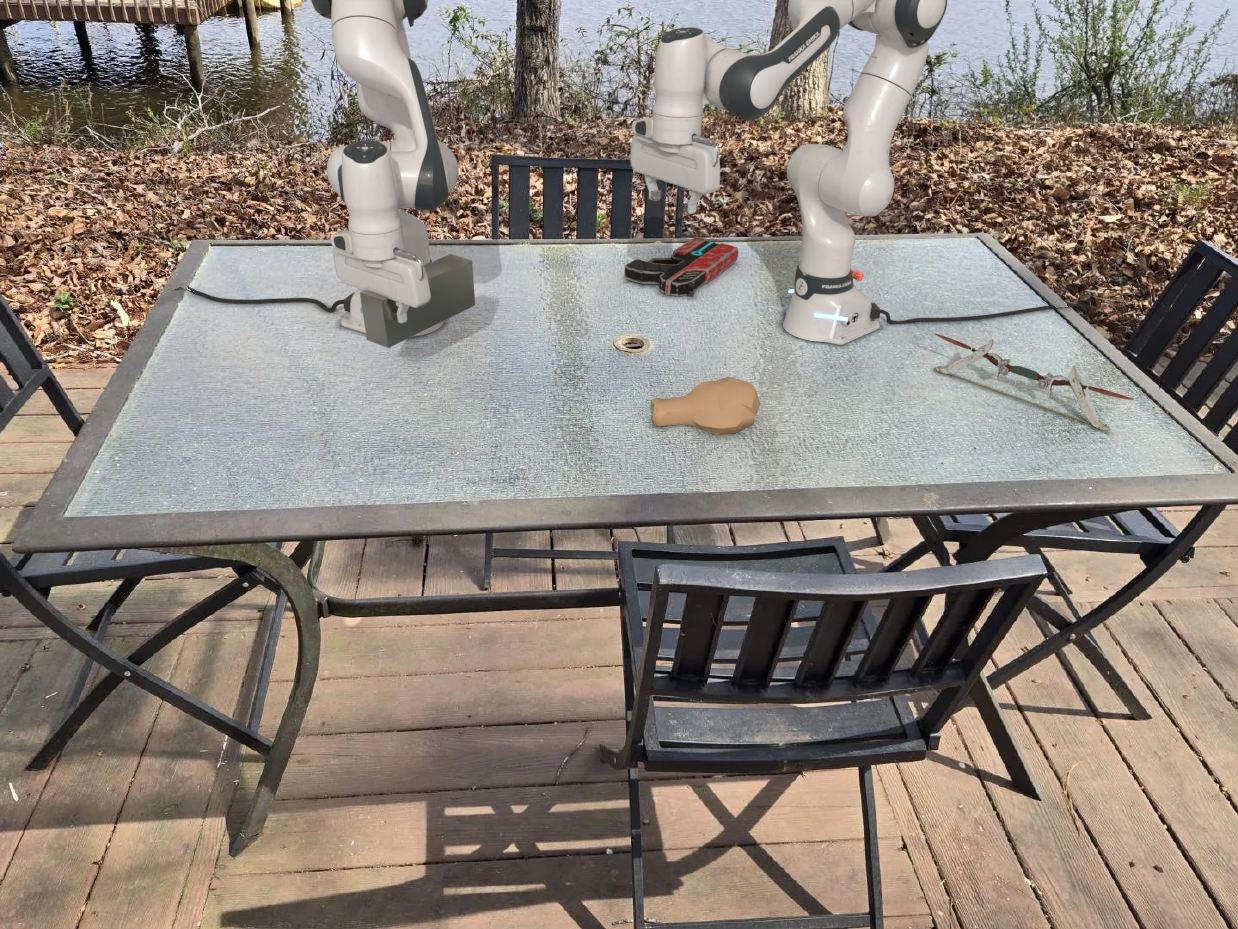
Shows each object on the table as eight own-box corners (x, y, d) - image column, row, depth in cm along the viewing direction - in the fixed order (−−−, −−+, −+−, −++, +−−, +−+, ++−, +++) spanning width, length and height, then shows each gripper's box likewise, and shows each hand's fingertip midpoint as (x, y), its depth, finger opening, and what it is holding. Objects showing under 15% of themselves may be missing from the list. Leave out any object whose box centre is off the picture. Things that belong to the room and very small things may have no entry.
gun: (618, 266, 215) (688, 285, 207) (677, 229, 237) (743, 245, 229) (618, 283, 218) (687, 302, 210) (676, 245, 240) (741, 261, 232)
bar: (388, 348, 158) (381, 299, 152) (366, 340, 160) (359, 292, 155) (475, 305, 174) (472, 260, 169) (454, 298, 176) (450, 253, 171)
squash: (764, 441, 158) (764, 403, 152) (653, 450, 160) (649, 412, 153) (757, 403, 166) (757, 365, 160) (652, 411, 167) (648, 374, 161)
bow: (1121, 432, 163) (1140, 385, 158) (1118, 436, 162) (1137, 389, 157) (928, 364, 185) (939, 321, 179) (924, 367, 184) (935, 323, 178)
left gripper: (434, 250, 148) (441, 325, 156) (351, 225, 158) (361, 297, 165) (407, 261, 144) (416, 337, 152) (323, 234, 153) (335, 308, 161)
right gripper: (731, 138, 152) (724, 217, 160) (650, 116, 165) (647, 190, 172) (706, 143, 149) (700, 223, 156) (625, 120, 161) (623, 196, 169)
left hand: (387, 316), depth 159 cm, fingers closed on bar, 5 cm apart
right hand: (672, 206), depth 164 cm, fingers open, 8 cm apart
